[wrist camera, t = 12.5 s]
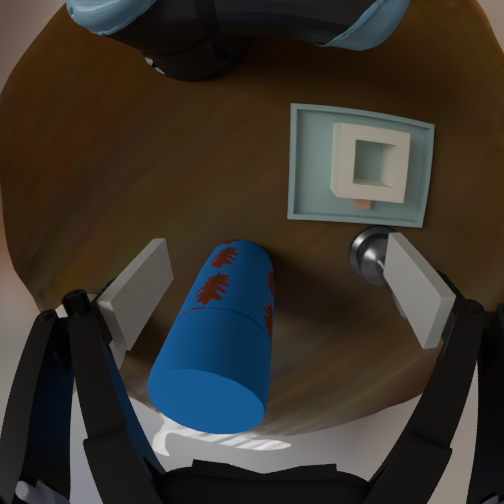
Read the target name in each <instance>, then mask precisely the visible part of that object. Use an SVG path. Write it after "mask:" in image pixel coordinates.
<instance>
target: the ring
mask: <svg viewBox="0 0 504 504" xmlns="http://www.w3.org/2000/svg"><path fill="white" fill-rule="evenodd" d="M356 139H357V140H365V141H372V142H379V143H383V150H382V163H381V174H380V180H372V179H363V178H353V174H354V161H355V145H356ZM409 147H410V133H405V132H400V131H395V130H389V129H383V128H377V127H370V126H364V125H356V124H348V123H333V148H332V166H331V182H330V189H331V190H332V192H333V193H334V194H335V195H336V196H337V197H341V198H353V205H354V206H355V207H356V208H360V209H370V206H371V200H377V201H387V202H396V203H403V201H404V194H405V187H406V179H407V170H408V159H409Z"/></svg>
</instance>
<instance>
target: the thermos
mask: <svg viewBox="0 0 504 504" xmlns="http://www.w3.org/2000/svg"><path fill="white" fill-rule="evenodd" d="M274 288H275V287H274V271H273V263H272V261H271V259H270V257H269V255H268V253H267V252H266V251H264V250H263V249H262V248H261V247H260V246H259V245H257V244H254V243H252V242H250V241H246V240H237V239H236V240H231V241H227V242H224V243H222V244H221V245H219V246H218V247H216V248H215V249H214V251H213V252H212V254H211V255H210V257H209V258H208V260H207V261H206V263H205V264H204V266H203V267H202V269H201V271H200V273H199V275H198V277H197V279H196V280H195V282H194V284H193V286H192V288H191V290H190V292H189V294H188V296H187V298H186V300H185V302H184V304H183V306H182V308H181V310H180V312H179V314H178V316H177V318H176V320H175V322H174V324H173V326H172V328H171V330H170V332H169V334H168V336H167V338H166V340H165V342H164V344H163V346H162V349H161V351H160V353H159V355H158V357H157V359H156V361H155V363H154V365H153V367H152V370H151V373H150V377H149V380H148V396H149V397H150V399H151V401H152V402H153V404H154V406H155V407H156V408H157V409H159V410H160V411H161V412H162V413H163V414H164V415H165V416H166V417H168V418H170V419H172V420H173V421H175V422H177V423H179V424H180V425H183V426H186V427H188V428H191V429H194V430H197V431H201V432H207V433H213V434H235V433H240V432H244V431H248V430H250V429H252V428H253V427H255V426H257V425H258V424H259V423H260V422H261V420H262V418H263V417H264V415H265V410H266V406H267V402H268V393H269V378H270V363H271V346H272V328H273V309H274Z"/></svg>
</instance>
